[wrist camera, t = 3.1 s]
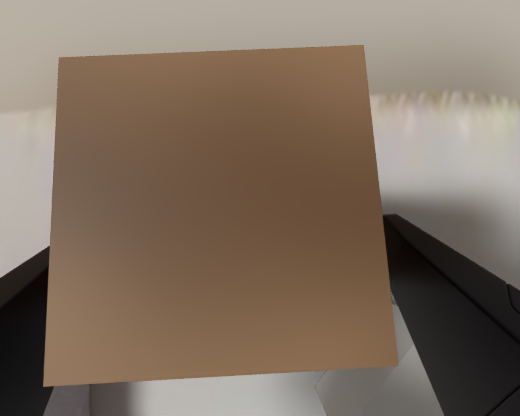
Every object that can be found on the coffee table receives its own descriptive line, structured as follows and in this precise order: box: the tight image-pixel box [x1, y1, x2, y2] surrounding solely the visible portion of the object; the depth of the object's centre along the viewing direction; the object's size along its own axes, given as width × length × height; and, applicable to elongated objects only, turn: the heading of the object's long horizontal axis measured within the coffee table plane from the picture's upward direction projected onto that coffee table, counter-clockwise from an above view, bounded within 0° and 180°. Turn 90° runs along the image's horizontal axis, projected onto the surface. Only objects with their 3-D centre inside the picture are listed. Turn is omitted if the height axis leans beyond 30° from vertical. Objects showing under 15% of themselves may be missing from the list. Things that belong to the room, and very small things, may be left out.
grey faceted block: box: [315, 304, 444, 416], centre depth 14 cm, size 6×6×5 cm
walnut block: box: [43, 45, 399, 387], centre depth 11 cm, size 5×5×13 cm
